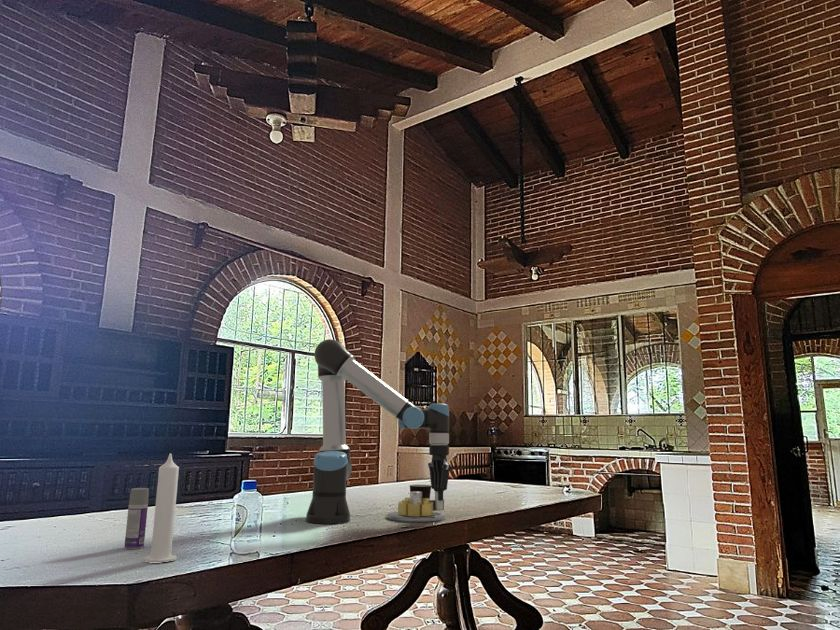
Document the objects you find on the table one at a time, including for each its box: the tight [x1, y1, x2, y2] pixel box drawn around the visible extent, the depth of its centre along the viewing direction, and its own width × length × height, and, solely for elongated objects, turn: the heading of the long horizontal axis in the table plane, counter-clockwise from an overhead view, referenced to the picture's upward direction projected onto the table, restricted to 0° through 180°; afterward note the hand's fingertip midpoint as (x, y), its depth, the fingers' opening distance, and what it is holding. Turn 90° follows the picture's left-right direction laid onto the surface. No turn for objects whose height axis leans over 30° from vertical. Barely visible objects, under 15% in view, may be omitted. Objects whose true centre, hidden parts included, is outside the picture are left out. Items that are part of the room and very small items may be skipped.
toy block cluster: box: [397, 497, 445, 517], centre depth 218 cm, size 19×12×5 cm, turn 129°
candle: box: [143, 453, 180, 562], centre depth 144 cm, size 7×7×25 cm
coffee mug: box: [409, 484, 432, 500], centre depth 234 cm, size 12×9×10 cm
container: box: [123, 487, 150, 550], centre depth 157 cm, size 5×5×15 cm
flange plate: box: [386, 491, 446, 524], centre depth 216 cm, size 21×21×9 cm
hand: (438, 509), depth 219 cm, fingers closed
